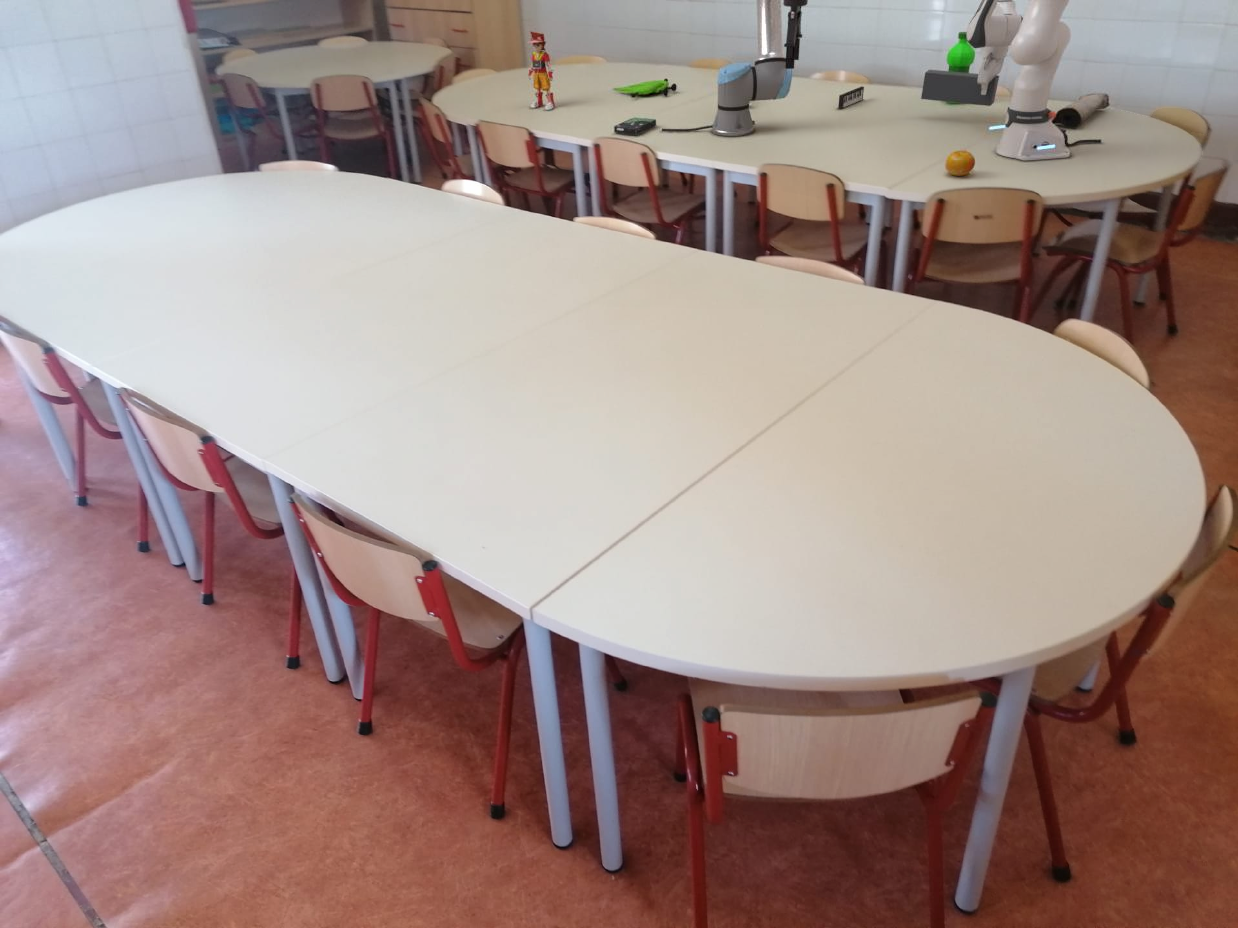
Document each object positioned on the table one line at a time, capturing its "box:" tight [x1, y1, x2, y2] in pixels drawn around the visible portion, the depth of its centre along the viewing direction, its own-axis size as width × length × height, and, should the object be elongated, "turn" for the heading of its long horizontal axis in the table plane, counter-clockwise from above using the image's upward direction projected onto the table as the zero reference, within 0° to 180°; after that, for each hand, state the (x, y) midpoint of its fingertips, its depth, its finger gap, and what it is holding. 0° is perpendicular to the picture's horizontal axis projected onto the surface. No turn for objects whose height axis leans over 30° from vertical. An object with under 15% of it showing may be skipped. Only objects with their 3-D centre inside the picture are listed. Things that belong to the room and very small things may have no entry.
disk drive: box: [613, 116, 657, 136], centre depth 344 cm, size 10×3×15 cm
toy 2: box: [612, 78, 677, 99], centre depth 396 cm, size 28×5×30 cm
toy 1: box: [527, 31, 556, 111], centre depth 374 cm, size 12×9×30 cm
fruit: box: [944, 150, 976, 177], centre depth 280 cm, size 8×8×8 cm
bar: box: [920, 69, 1000, 107], centre depth 327 cm, size 25×5×9 cm, turn 58°
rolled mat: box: [1051, 92, 1110, 129], centre depth 325 cm, size 30×9×10 cm
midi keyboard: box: [837, 85, 865, 110], centre depth 359 cm, size 18×1×5 cm, turn 138°
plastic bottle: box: [946, 31, 976, 104], centre depth 348 cm, size 10×10×25 cm
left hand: (792, 64), depth 293 cm, fingers open, 13 cm apart
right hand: (986, 92), depth 323 cm, fingers closed on bar, 5 cm apart
